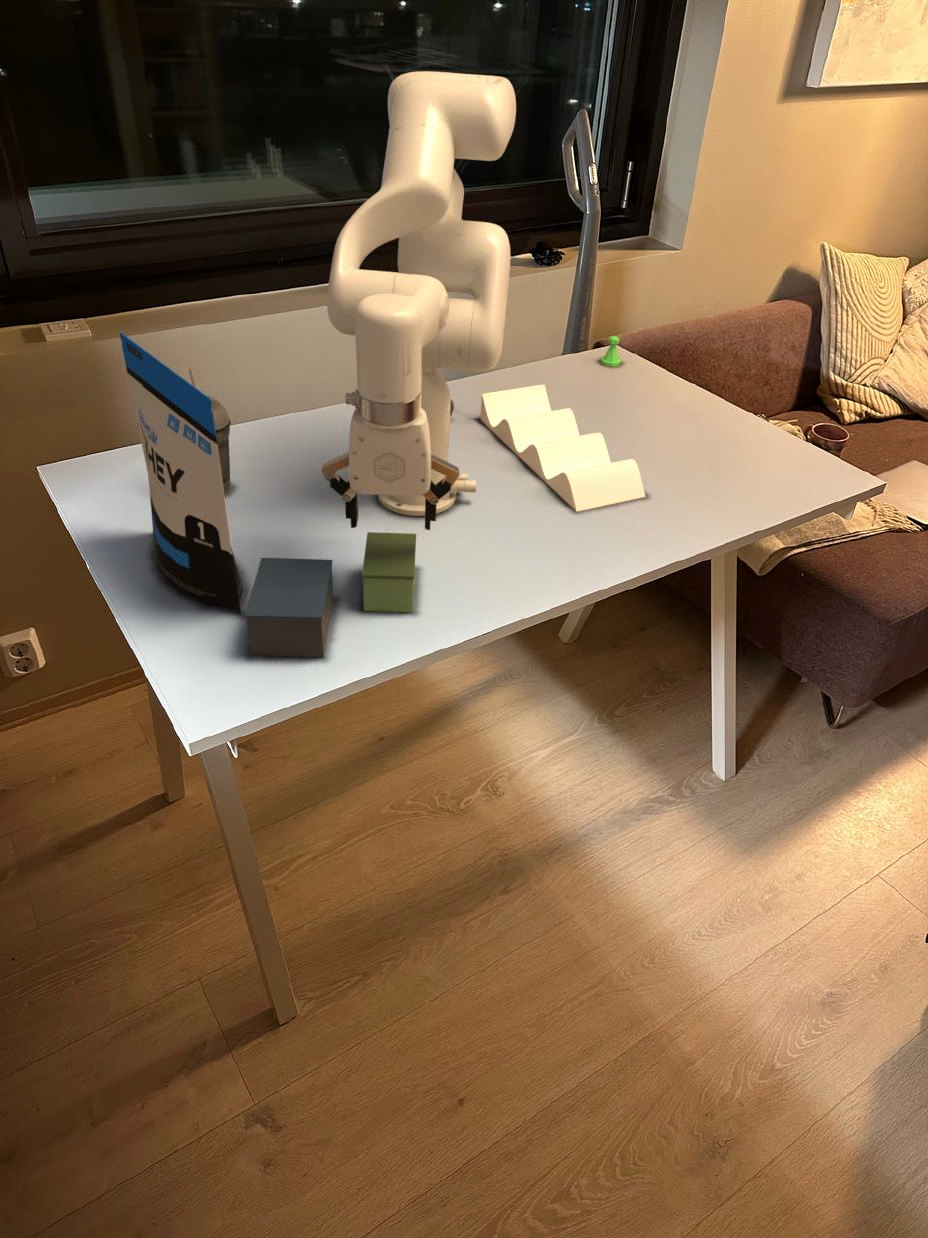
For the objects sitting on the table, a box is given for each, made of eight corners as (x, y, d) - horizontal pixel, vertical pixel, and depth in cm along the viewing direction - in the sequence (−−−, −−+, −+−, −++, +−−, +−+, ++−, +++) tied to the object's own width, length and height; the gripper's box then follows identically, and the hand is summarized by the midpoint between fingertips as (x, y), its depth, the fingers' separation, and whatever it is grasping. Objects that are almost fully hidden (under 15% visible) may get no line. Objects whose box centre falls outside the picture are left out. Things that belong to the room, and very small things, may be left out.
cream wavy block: (576, 511, 140) (580, 483, 136) (480, 419, 164) (482, 393, 161) (645, 496, 144) (650, 469, 141) (541, 409, 169) (544, 384, 166)
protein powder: (189, 522, 132) (154, 324, 113) (272, 601, 118) (249, 389, 99) (128, 542, 127) (81, 339, 108) (207, 627, 113) (170, 409, 94)
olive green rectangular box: (368, 567, 125) (367, 531, 121) (415, 569, 125) (416, 533, 121) (362, 611, 117) (361, 574, 113) (413, 613, 117) (413, 576, 113)
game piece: (624, 363, 189) (629, 335, 185) (612, 368, 186) (616, 340, 183) (608, 357, 191) (613, 330, 188) (596, 362, 189) (600, 334, 185)
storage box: (265, 597, 118) (261, 557, 114) (334, 599, 119) (332, 559, 115) (249, 656, 109) (244, 615, 105) (324, 658, 109) (321, 617, 105)
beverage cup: (228, 504, 136) (210, 381, 124) (184, 497, 137) (162, 375, 125) (246, 481, 142) (231, 362, 130) (204, 475, 143) (185, 356, 130)
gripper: (313, 416, 101) (322, 537, 112) (462, 421, 102) (457, 541, 113) (320, 387, 107) (328, 505, 118) (461, 391, 108) (456, 509, 119)
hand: (391, 523), depth 116 cm, fingers open, 9 cm apart
